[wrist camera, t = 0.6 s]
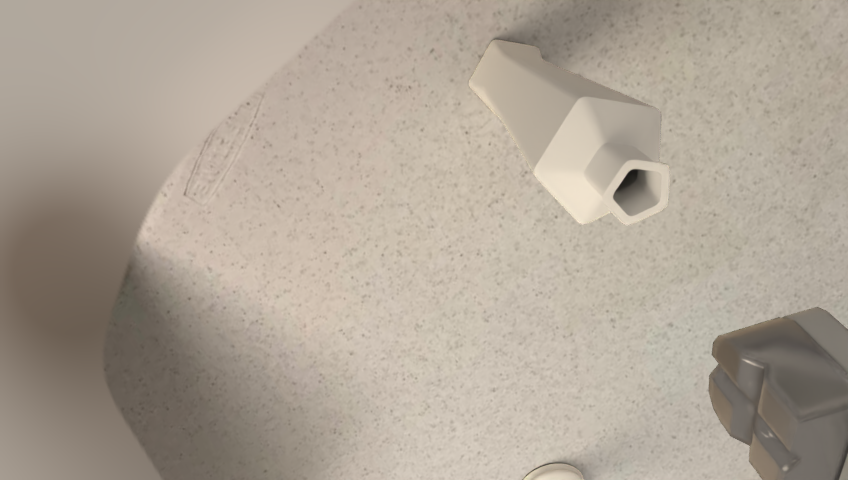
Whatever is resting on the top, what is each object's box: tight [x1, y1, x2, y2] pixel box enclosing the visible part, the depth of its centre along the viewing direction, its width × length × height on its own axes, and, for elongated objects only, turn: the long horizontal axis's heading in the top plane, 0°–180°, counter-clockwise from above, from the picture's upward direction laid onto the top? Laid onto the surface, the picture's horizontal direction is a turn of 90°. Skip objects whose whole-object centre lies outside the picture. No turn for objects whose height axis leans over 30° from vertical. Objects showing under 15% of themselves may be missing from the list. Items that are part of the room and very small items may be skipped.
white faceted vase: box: [469, 40, 670, 225], centre depth 26 cm, size 5×4×15 cm
